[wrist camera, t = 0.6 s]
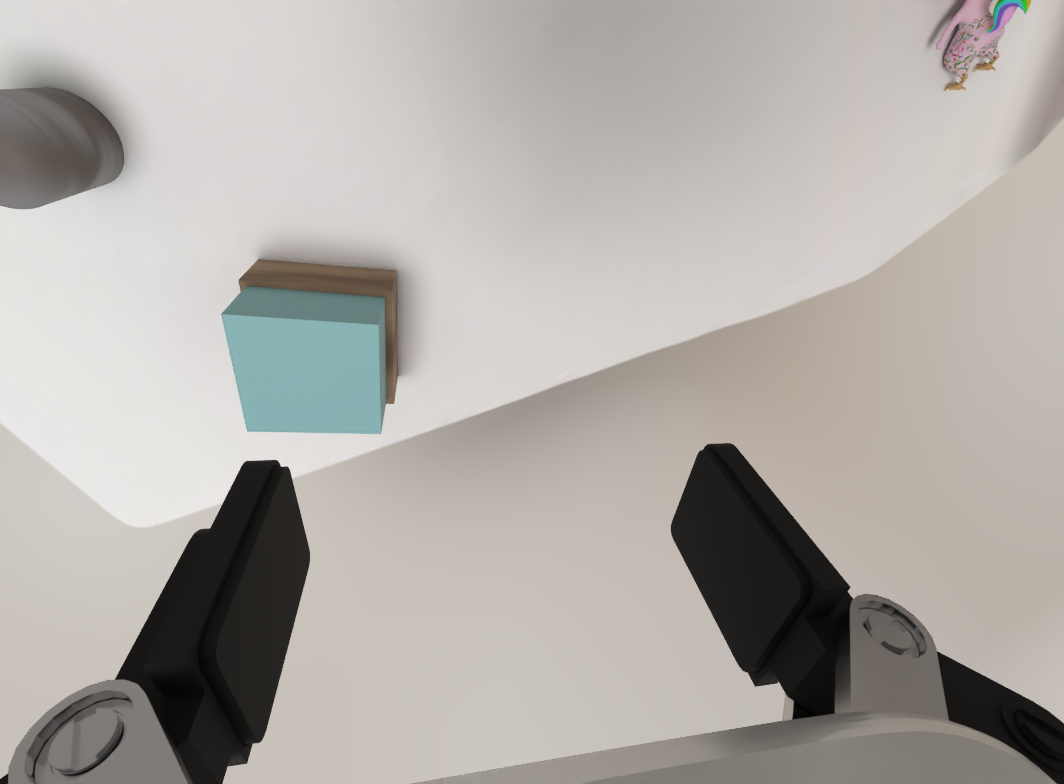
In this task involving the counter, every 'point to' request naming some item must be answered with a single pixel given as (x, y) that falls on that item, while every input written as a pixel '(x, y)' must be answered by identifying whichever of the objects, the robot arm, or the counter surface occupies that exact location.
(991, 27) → the pink patterned figure
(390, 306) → the walnut base block
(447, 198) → the counter surface
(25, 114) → the charcoal cylinder
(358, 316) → the teal top block
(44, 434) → the counter surface
